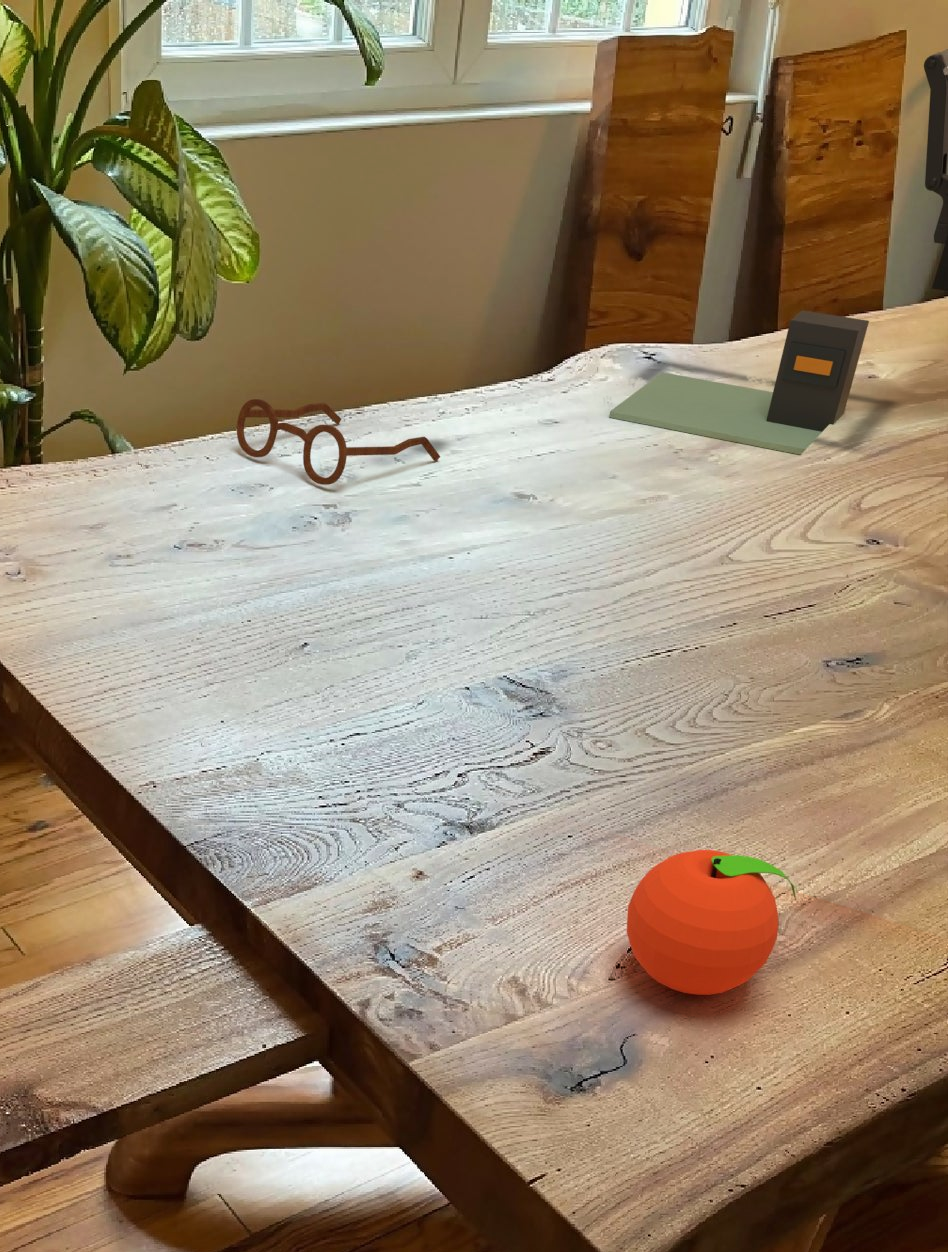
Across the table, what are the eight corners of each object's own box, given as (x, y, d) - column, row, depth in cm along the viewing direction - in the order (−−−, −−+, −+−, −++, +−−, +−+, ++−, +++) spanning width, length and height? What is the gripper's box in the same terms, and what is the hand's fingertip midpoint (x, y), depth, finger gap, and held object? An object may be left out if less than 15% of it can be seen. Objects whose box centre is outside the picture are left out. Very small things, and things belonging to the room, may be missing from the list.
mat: (883, 418, 141) (885, 412, 140) (844, 463, 131) (846, 456, 130) (660, 378, 150) (662, 372, 149) (608, 417, 140) (609, 411, 139)
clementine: (742, 929, 75) (777, 812, 71) (804, 1016, 70) (846, 895, 66) (593, 942, 74) (619, 823, 70) (645, 1031, 69) (676, 908, 65)
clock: (841, 422, 138) (869, 320, 132) (829, 434, 135) (857, 331, 129) (777, 410, 140) (802, 310, 135) (764, 422, 137) (789, 320, 132)
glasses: (232, 453, 130) (233, 395, 127) (338, 423, 137) (341, 367, 134) (336, 495, 122) (340, 435, 119) (442, 461, 129) (449, 403, 126)
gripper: (1145, -43, 111) (1032, 289, 126) (964, -54, 117) (876, 266, 131) (1133, -37, 106) (1017, 308, 121) (945, -49, 112) (855, 283, 126)
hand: (944, 286), depth 126 cm, fingers closed
